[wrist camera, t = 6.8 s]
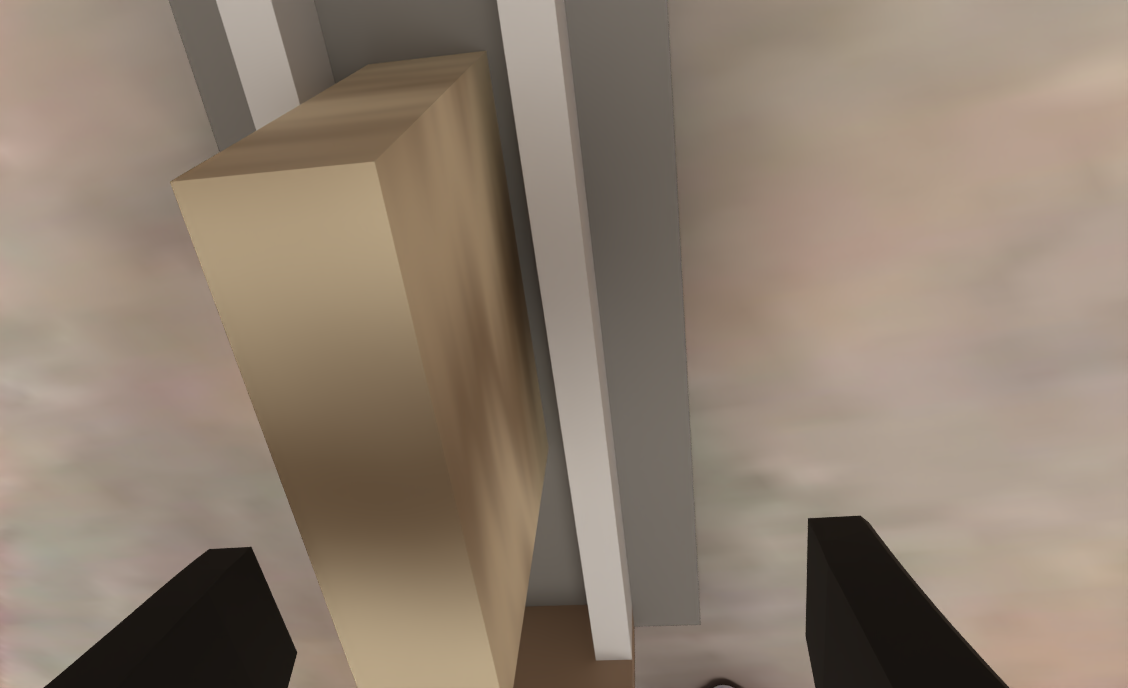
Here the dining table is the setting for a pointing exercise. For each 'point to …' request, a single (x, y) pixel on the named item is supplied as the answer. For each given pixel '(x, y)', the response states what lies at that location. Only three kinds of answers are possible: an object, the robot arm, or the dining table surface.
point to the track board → (542, 273)
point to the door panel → (389, 359)
